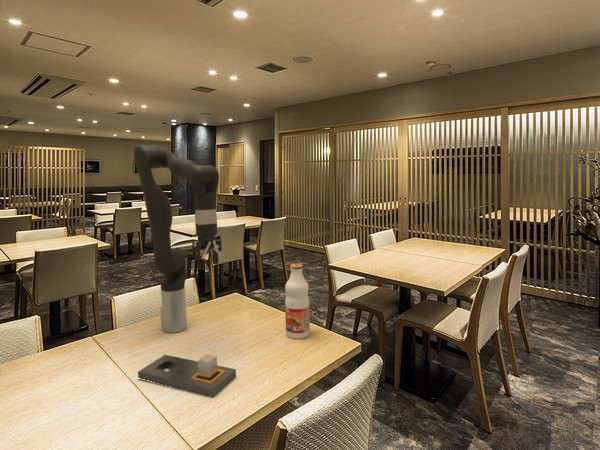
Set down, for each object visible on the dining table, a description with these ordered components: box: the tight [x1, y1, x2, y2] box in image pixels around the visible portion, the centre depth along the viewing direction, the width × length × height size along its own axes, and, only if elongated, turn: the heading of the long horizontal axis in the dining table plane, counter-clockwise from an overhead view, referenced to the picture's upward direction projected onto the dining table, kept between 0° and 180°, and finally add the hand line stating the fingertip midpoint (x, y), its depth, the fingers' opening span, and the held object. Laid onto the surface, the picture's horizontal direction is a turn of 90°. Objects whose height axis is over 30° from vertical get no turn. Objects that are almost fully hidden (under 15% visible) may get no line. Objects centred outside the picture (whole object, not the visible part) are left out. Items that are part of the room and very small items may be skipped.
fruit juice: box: [284, 263, 311, 340], centre depth 149 cm, size 9×9×28 cm
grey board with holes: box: [137, 354, 237, 398], centre depth 120 cm, size 28×12×3 cm, turn 68°
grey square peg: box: [197, 353, 218, 381], centre depth 116 cm, size 4×4×8 cm
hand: (208, 266), depth 138 cm, fingers open, 8 cm apart
